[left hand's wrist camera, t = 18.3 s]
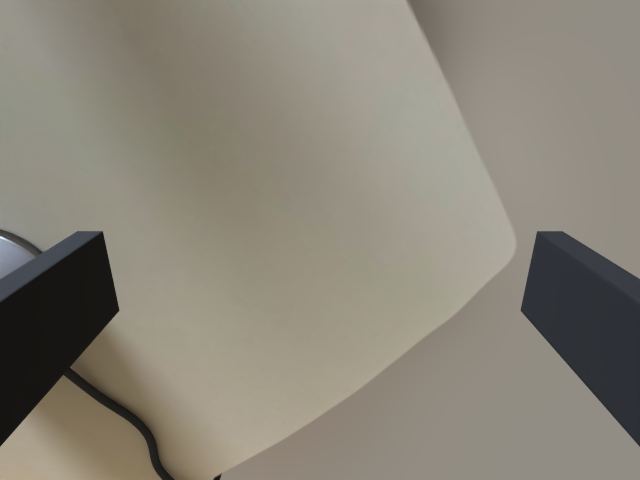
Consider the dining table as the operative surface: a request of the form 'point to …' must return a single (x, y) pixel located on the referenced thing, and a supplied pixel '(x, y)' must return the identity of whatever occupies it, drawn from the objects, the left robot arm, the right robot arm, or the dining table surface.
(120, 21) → the dining table surface
